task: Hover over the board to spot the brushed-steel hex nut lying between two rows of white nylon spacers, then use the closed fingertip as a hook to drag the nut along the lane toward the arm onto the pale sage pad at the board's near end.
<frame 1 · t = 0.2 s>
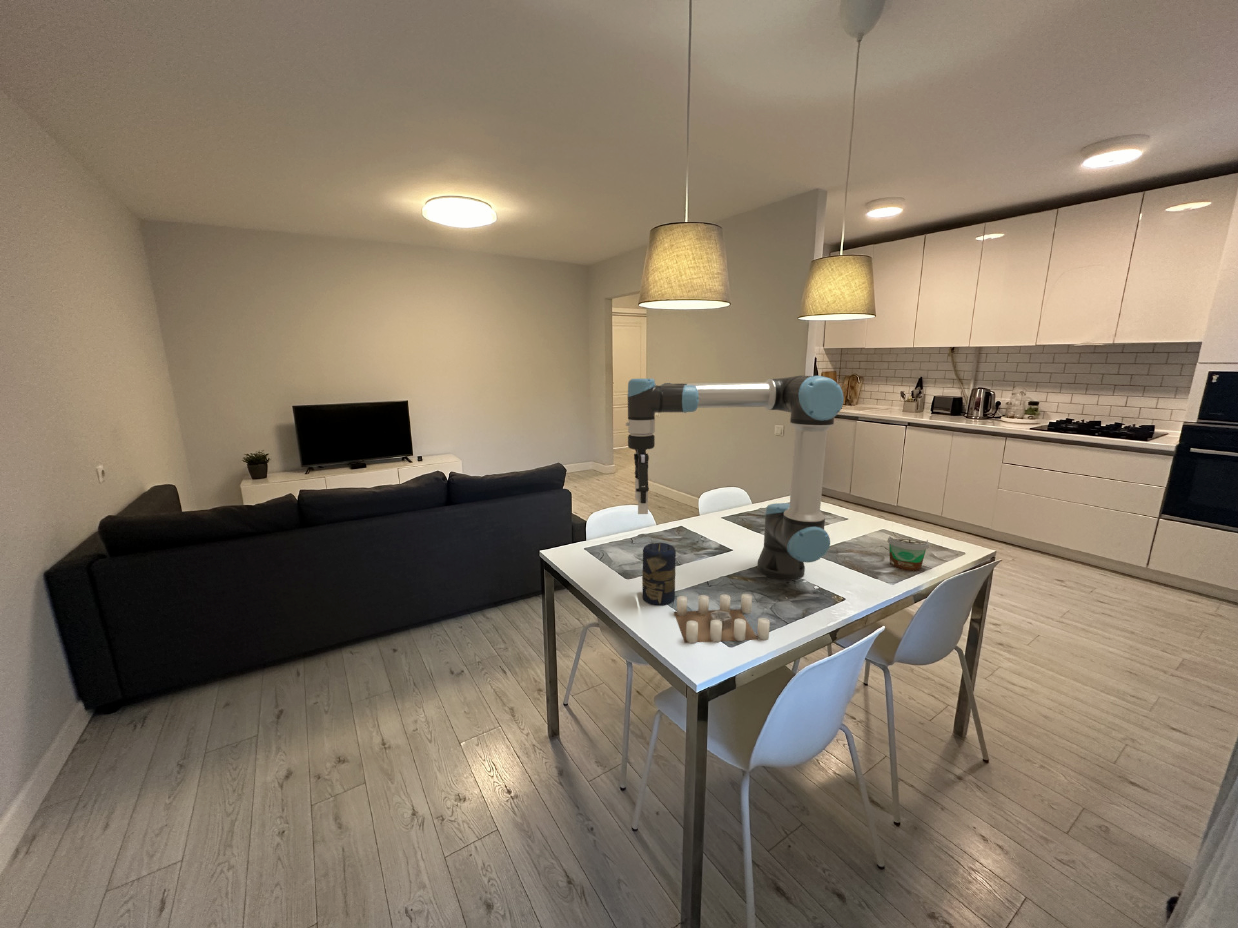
hand: (641, 506, 138), 28 cm above the table, fingers open, 13 cm apart
nut: (720, 624, 125), point 1 cm above the table, touching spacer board
canister: (658, 602, 140), on the table
spacers: (720, 616, 125), on the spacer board, point 3 cm above the table
food container: (906, 569, 161), on the table
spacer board: (727, 628, 126), on the table
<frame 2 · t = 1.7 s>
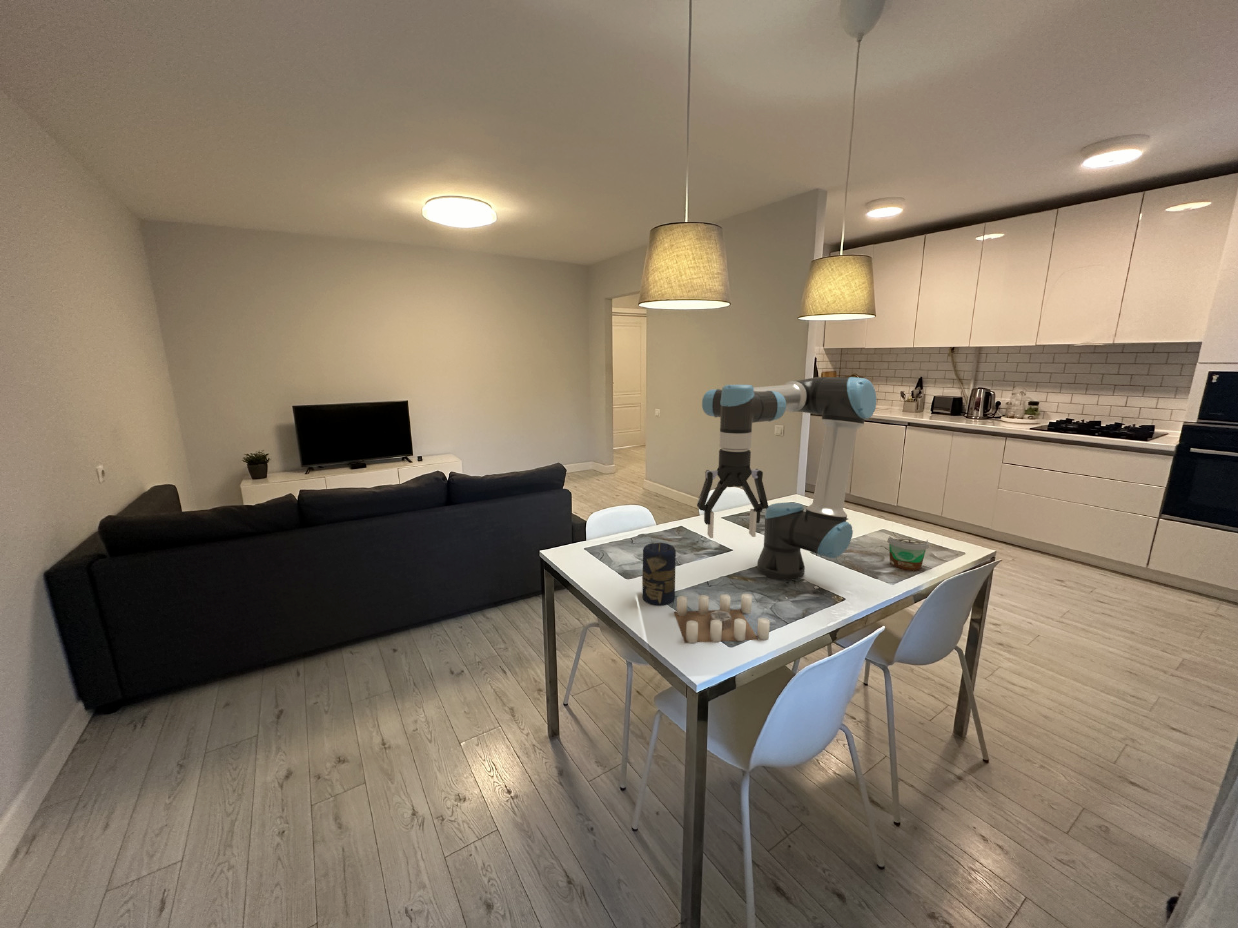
hand: (731, 535, 120), 26 cm above the table, fingers open, 10 cm apart
nothing on the table moved.
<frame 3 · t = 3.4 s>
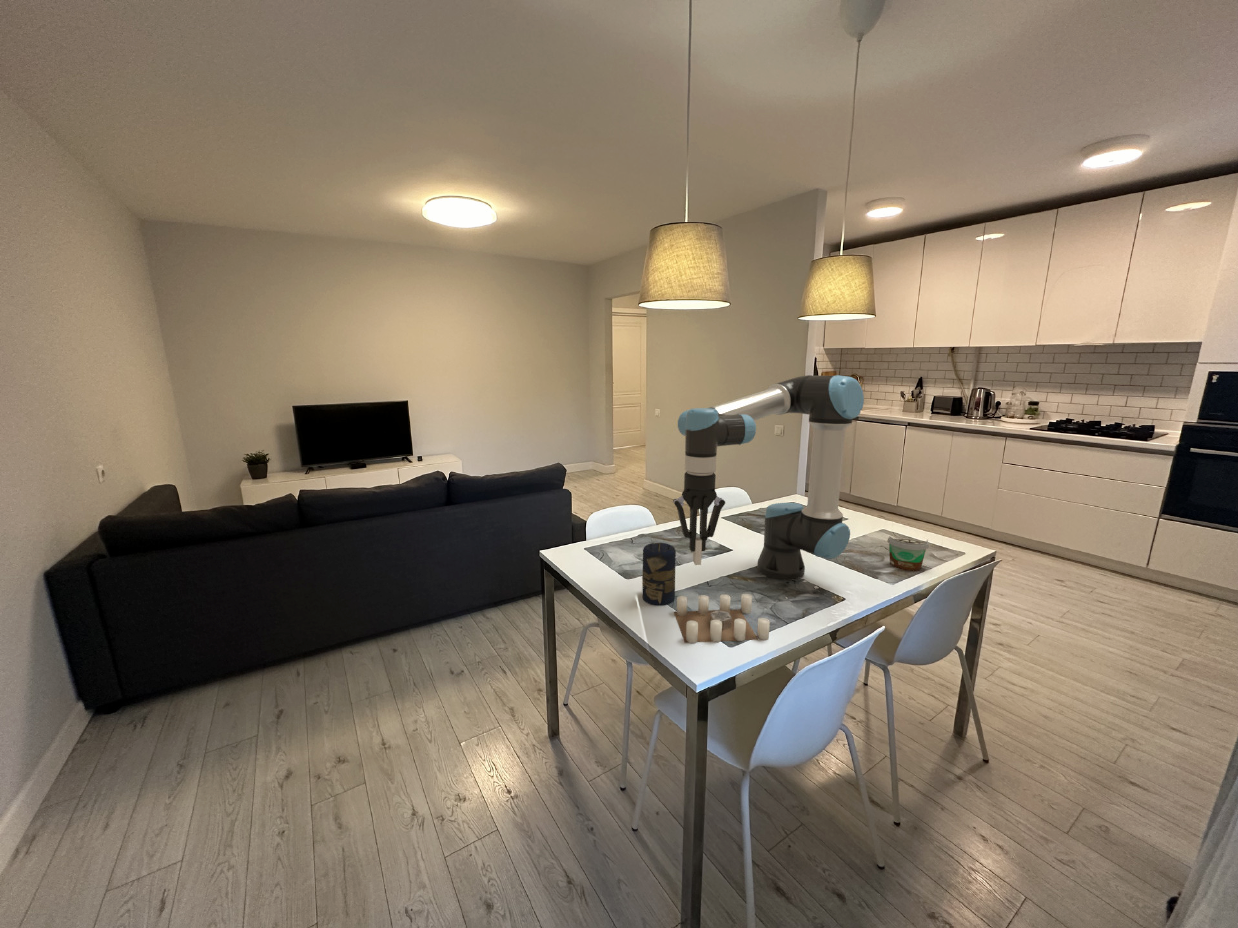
hand: (696, 562, 121), 19 cm above the table, fingers closed
nothing on the table moved.
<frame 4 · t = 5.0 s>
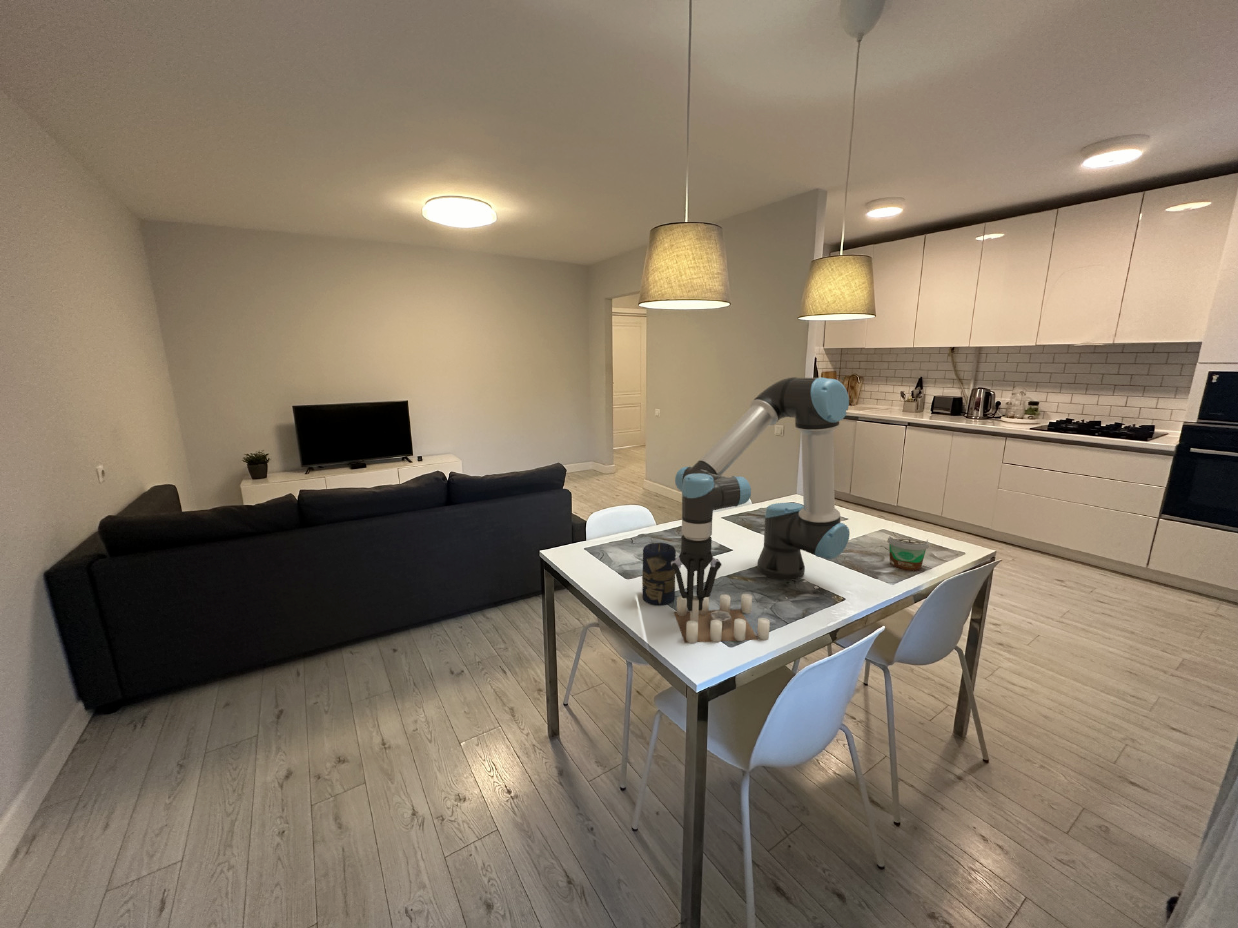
hand: (694, 621, 125), 3 cm above the table, fingers closed
nothing on the table moved.
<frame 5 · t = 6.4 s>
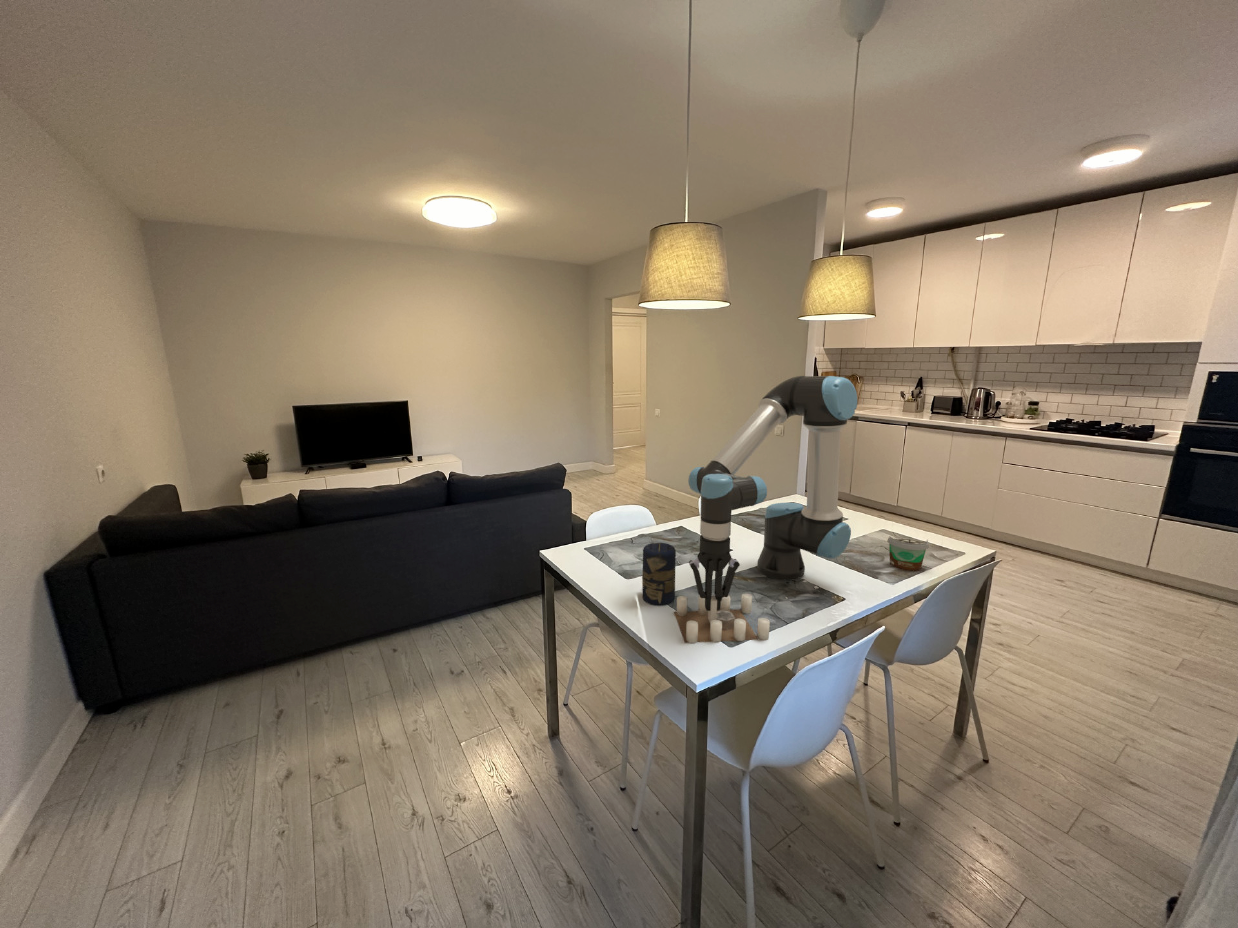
hand: (712, 620, 125), 2 cm above the table, fingers closed
nut: (723, 624, 125), point 1 cm above the table, touching gripper, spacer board
everything else where it was.
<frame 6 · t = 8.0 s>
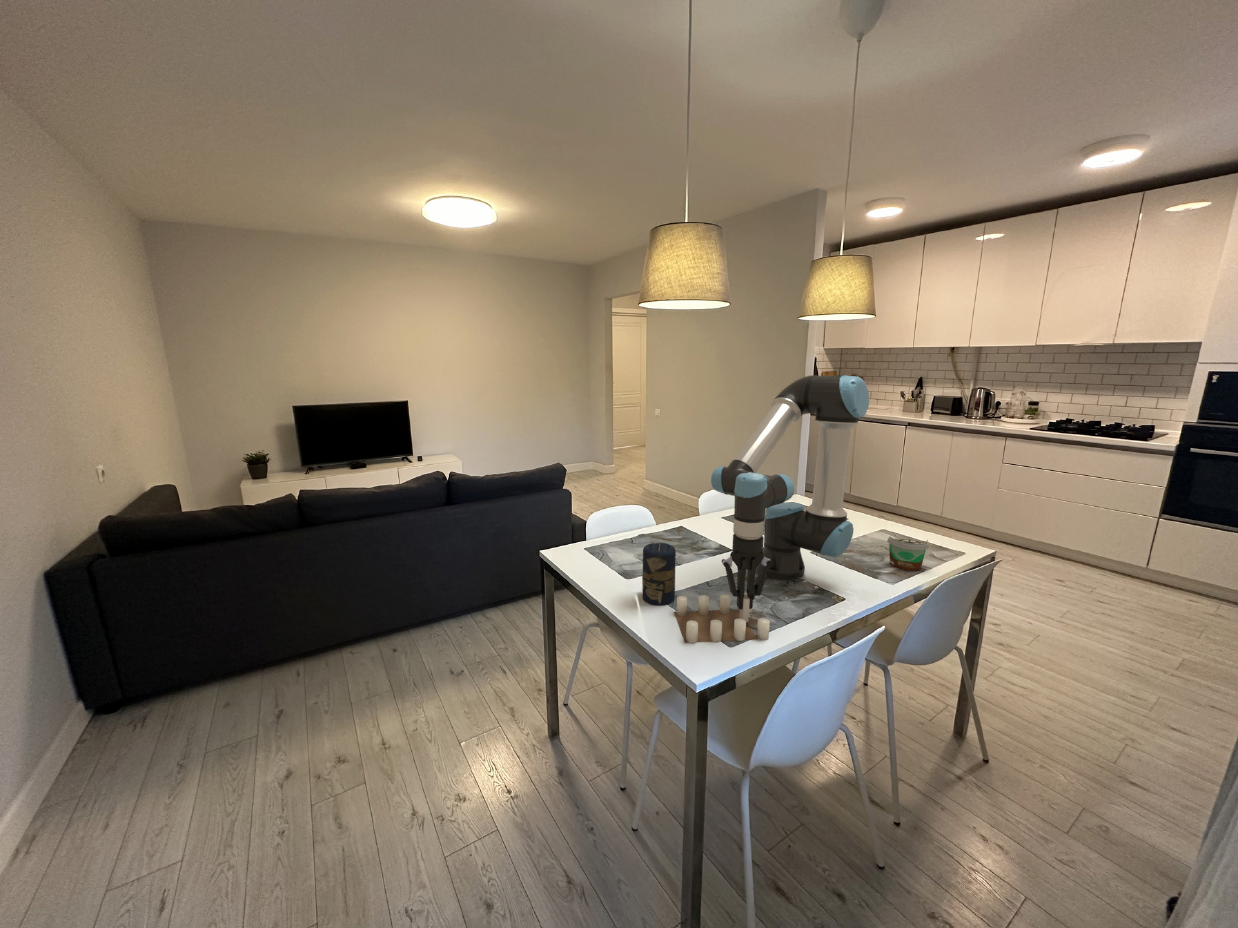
hand: (744, 619, 125), 2 cm above the table, fingers closed
nut: (755, 623, 126), point 1 cm above the table, touching gripper
everything else where it was.
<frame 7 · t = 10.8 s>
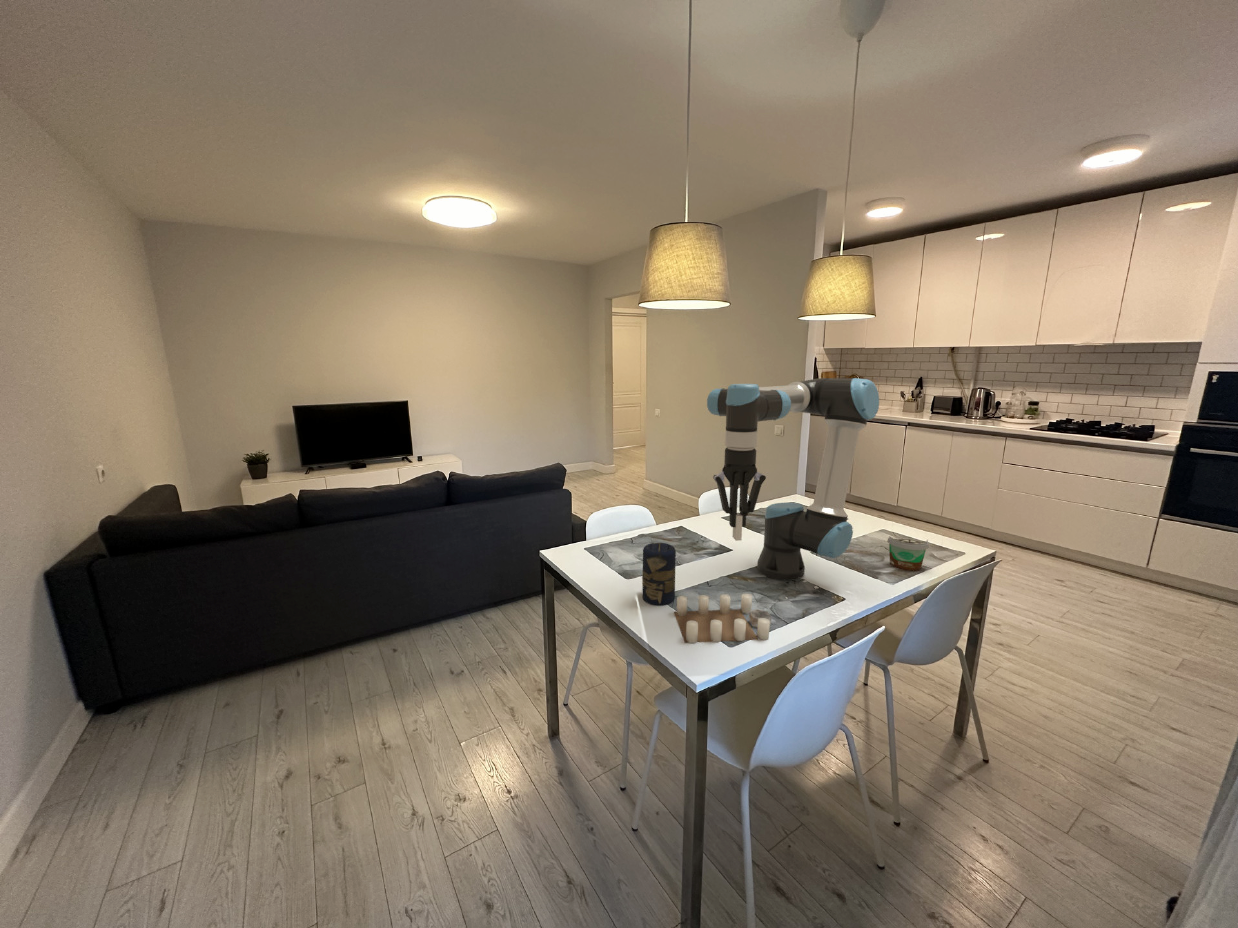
hand: (736, 538, 122), 25 cm above the table, fingers closed
nut: (759, 623, 126), point 1 cm above the table, touching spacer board
everything else where it was.
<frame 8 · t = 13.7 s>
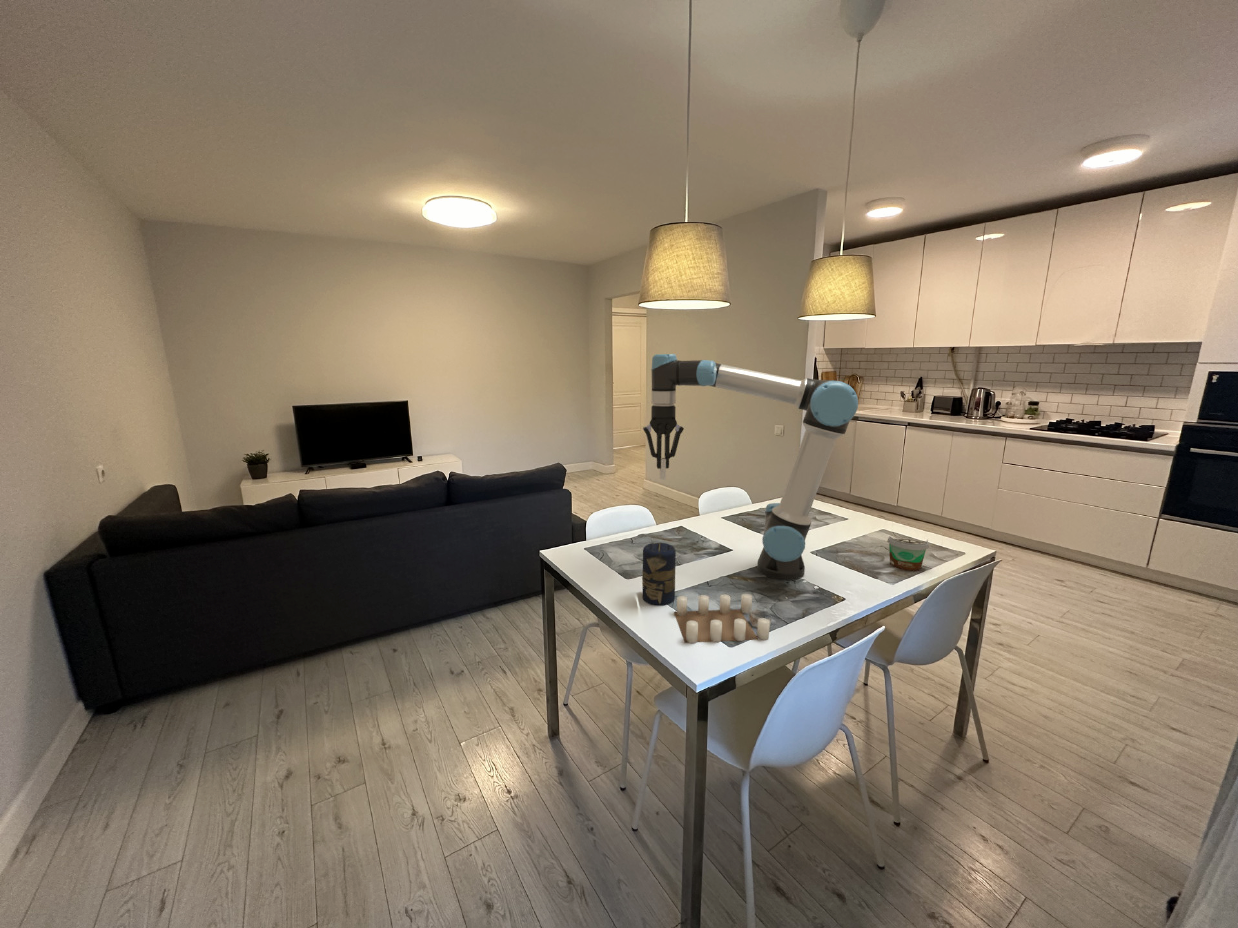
hand: (662, 478, 154), 32 cm above the table, fingers closed
nothing on the table moved.
at the end: nut inside the target area (0.3 cm from its centre), point 1.1 cm above the table; nut moved 10.5 cm from its start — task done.
